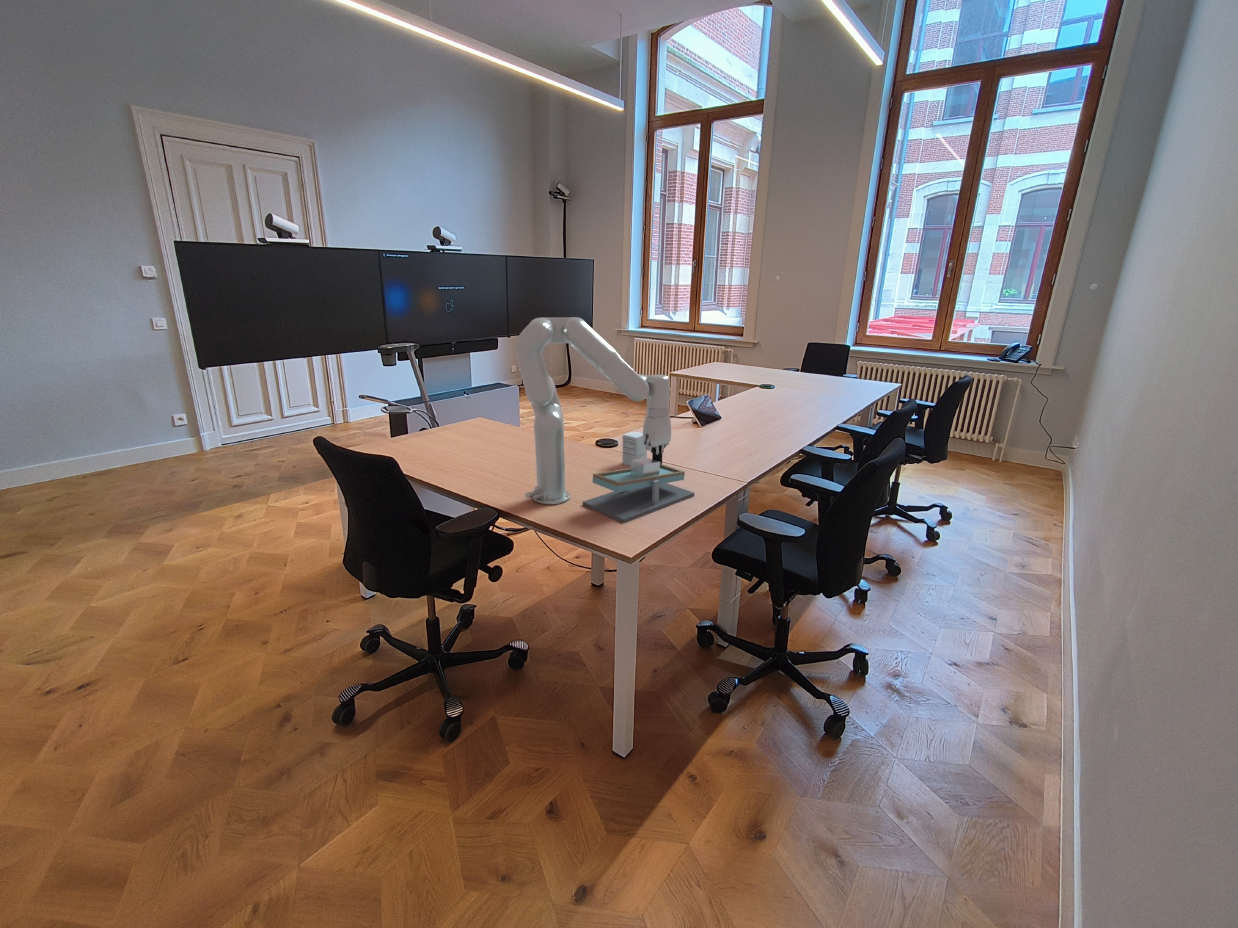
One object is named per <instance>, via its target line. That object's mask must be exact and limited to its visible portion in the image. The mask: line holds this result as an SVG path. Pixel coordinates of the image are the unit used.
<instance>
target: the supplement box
mask: <svg viewBox="0 0 1238 928" xmlns="http://www.w3.org/2000/svg"><path fill="white" fill-rule="evenodd" d="M642 438H643V432H637V431H630V432H627V433H624V434H622V465H625V466H629V467H631V460H636V459H643V458H648V457H647V455H648V454H647V453H648V450H645V448H646V445H643V442H642Z"/></svg>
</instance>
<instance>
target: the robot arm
mask: <svg viewBox="0 0 1238 928" xmlns="http://www.w3.org/2000/svg"><path fill="white" fill-rule="evenodd" d="M549 344H568V345H570V346H571V347H572V348H573V349H574V350H575V351H576V352H578V353H579V354H580V355H581V356H582V357H583V358H584V359H585V360H587V362H589V364H591V365H592V367H594V368H595V369H596V370H597V371H598V372H599V373H601V374H602V375H603V376H604V377H605V378H607V379H608V381H610V382H611V383H612V384H613V385H614V386H615V387H616V388H617V389H618V390H620V391H621V392H622V393H623V394H624V395H625V396H626V397H627V398H629V399H630V400H632V401H633V402H642V401H644V400H645V399H646V416H645V417H644V421H643V427H642V433H643V438H642V442H643V445H646V448H645V450H647V452H650V453H651V455H652V456H651V459H653V460H656V461H660V465H661V464H662V465H663V454H664V452H665V448H666V447H667V446H669V445H670V442H671V439H672V422H671V417H670V416H671V415H670V410H671V407H670V401H671V400H670V398H671V397H670V394H671V393H670V388H671V380H670V377H669V376H668V375H665V374H651V375H647V374H639V373H637V372H636V371H635V369H633V368H632V367H631V366H630V365H629V364H628V363H627V362H626V361H625V360H624V359H623V358H622V357H621V355H620V354H619V353H618V351H616V349H615V348H614V347H613V346H612V345H611V344H610V343H608V341H606V340H605V339H604V338H603V337H602V336H601V335H600V334H599V333H597V332H596V331H595V330H594V329H593V327H591V326H590V325H589V324H588V323H587V322H586V321H585V320H584V319H583V318H581V317H579V316H578V317H577V316H571V317H567V316H566V317H536V318H534V319H532V320H531V321H530V322H529V324H527V326H526V327H524V329H523V330H522V331H521V332H520V334H519V336H517V339H516V344H515V356H516V357H515V358H516V363H517V364H518V369H519V371H520V372H519V373H520V378H521V380H522V383H523V386H524V392H525V396H526V398H527V400H528V401H530V402H531V407H532V410H533V413H534V419H533V420H534V421H533V422H534V423H533V431H534V444H535V447H534V449H535V464H536V466H535V467H536V484H537V485H536V486H534V489H533V490H532V491H529V492H526V493H524V495H525V499H531V498H532V499H533V501H534V502H535V503H538V504H542V505H559V504H562V503H565V502H567V501H568V500H570V498H571V494H570V492H569V491H567V490H566V473H565V472H566V468H565V462H566V461H565V432H564V431H565V428H564V427H565V426H564V425H565V423H564V412H563V410H562V406H561V401H560V399H559V398H560V397H559V395H558V391H557V388H556V385H555V382H554V380H553V378H552V376H550V375H549V371H548V369H547V365H546V361H545V357H544V349H545V347H546V346H548V345H549Z"/></svg>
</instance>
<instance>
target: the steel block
mask: <svg viewBox="0 0 1238 928" xmlns="http://www.w3.org/2000/svg"><path fill="white" fill-rule="evenodd" d="M629 468H630V475H633V476H636V477H639V478H644V477H650V476H656V475H659V470H660V461H656V460H653V459H652V458H649V457H647V458H643V459H636V460H631V466H630V467H629Z"/></svg>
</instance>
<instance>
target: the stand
mask: <svg viewBox="0 0 1238 928" xmlns="http://www.w3.org/2000/svg"><path fill="white" fill-rule="evenodd" d="M692 497H693V498H694V497H695V492H693V491H690V490H689V489H685V488H682V487H679V486H675V485H673V484H669V483H664V484H659V480H655V481H652V486H649V487H643V488H638V489H633V490H628V491H622V492H615V491H611V492H608V493H605V494H602V495H598V496H596V497H593V498H589V499H587V500H584V501H582V506H585V507H586V508H588V509H591V510H593V511H596V512H598V513H600V514H602V515H605V516H607V517H609V518H612V519H614V520H616V521H618V522H619V523H620V522H621V523H624V524H625V523H627V522H630V521H632V520H635V519H638V518H641V517H643V516H645V515H648V514H651V513H654V512H656V511H659V510H662V509H664V508H666V507H669V506H671V505H675V504H677V503H680V502H681V501H682V502H683V501H685V500H687V499H690V498H692ZM674 503H675V504H674Z"/></svg>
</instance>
